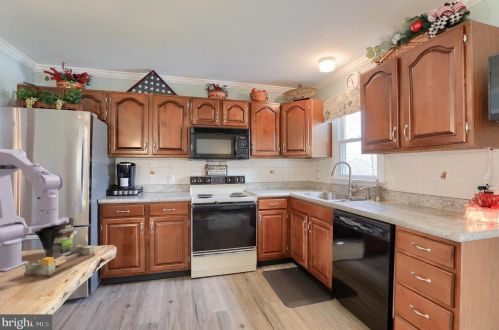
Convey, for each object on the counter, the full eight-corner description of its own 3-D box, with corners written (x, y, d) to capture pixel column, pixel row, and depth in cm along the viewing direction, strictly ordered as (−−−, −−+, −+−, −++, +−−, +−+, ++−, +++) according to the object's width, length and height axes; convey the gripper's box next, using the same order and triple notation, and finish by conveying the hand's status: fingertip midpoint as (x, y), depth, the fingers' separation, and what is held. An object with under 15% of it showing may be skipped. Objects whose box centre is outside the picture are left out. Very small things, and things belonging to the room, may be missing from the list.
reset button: (42, 265, 82) (42, 259, 82) (47, 262, 84) (47, 256, 84) (48, 265, 82) (48, 259, 82) (53, 263, 84) (53, 257, 84)
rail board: (24, 276, 83) (24, 262, 83) (73, 254, 103) (73, 243, 103) (49, 278, 82) (49, 264, 82) (95, 255, 102) (95, 244, 102)
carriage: (40, 265, 87) (40, 248, 87) (51, 260, 91) (51, 244, 91) (55, 266, 86) (55, 249, 86) (65, 261, 90) (65, 245, 90)
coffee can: (79, 249, 109) (79, 218, 109) (57, 258, 99) (57, 223, 99) (60, 247, 111) (60, 217, 111) (36, 256, 101) (36, 222, 101)
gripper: (36, 214, 76) (37, 257, 76) (76, 206, 90) (76, 242, 90) (17, 213, 76) (17, 256, 77) (59, 205, 91) (59, 241, 91)
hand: (48, 248), depth 83 cm, fingers closed
